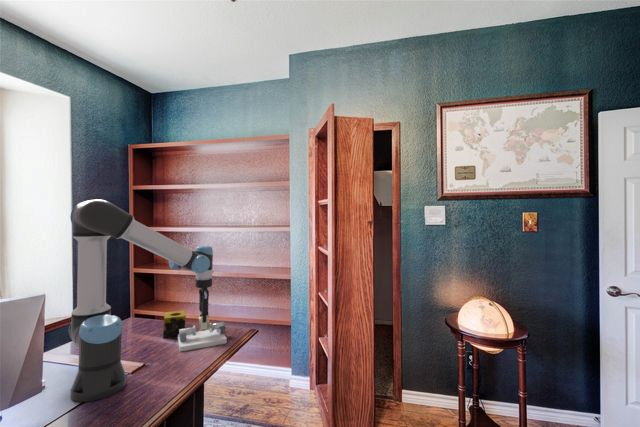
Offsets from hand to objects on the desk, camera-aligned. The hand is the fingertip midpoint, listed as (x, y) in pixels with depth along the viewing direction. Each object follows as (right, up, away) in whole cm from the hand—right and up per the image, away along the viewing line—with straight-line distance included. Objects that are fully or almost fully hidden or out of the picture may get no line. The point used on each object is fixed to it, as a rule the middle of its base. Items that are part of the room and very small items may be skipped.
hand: (203, 327), depth 143 cm
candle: (-18, -7, +8) cm, 21 cm away
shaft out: (+5, -5, +4) cm, 8 cm away
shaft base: (-1, -6, -1) cm, 6 cm away
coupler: (0, -1, 0) cm, 1 cm away
